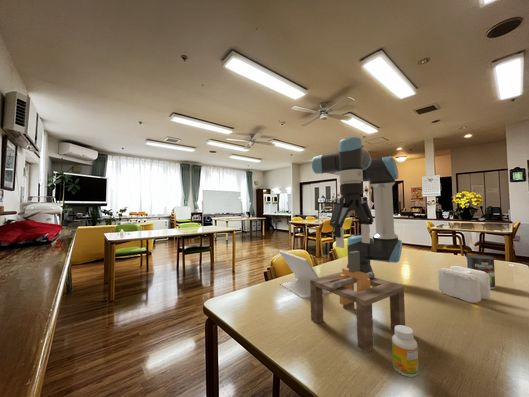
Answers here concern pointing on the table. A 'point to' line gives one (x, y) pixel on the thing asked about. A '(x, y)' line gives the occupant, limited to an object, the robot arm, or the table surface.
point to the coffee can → (482, 266)
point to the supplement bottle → (405, 351)
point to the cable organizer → (464, 283)
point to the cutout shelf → (359, 303)
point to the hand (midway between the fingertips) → (353, 245)
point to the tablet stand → (300, 275)
